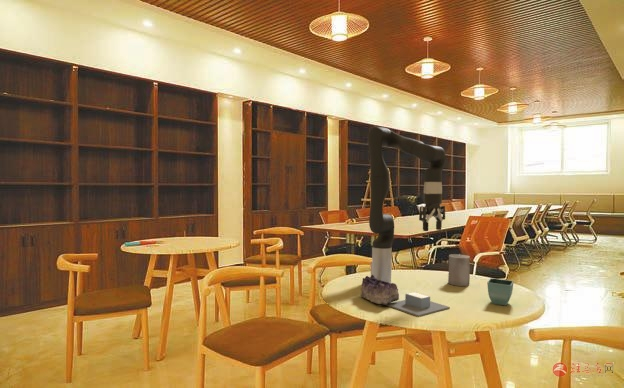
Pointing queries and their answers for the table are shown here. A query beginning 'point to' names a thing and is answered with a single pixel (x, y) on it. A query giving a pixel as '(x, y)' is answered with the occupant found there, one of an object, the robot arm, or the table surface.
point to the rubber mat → (416, 311)
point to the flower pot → (500, 291)
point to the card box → (417, 300)
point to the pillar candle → (459, 270)
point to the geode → (379, 291)
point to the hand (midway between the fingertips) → (432, 230)
